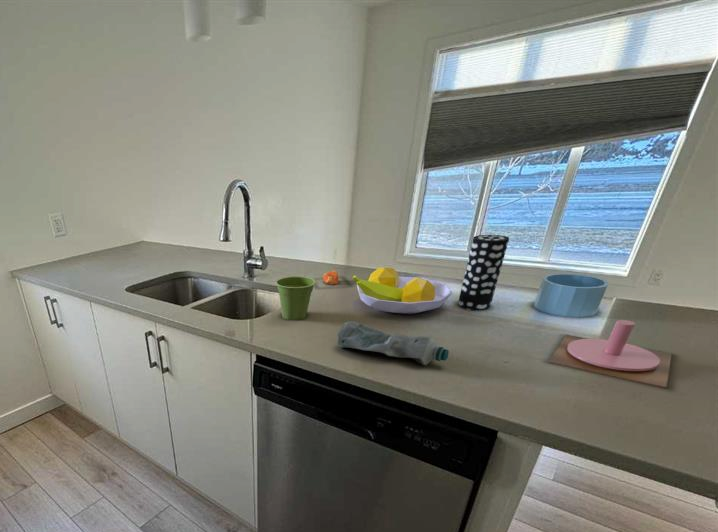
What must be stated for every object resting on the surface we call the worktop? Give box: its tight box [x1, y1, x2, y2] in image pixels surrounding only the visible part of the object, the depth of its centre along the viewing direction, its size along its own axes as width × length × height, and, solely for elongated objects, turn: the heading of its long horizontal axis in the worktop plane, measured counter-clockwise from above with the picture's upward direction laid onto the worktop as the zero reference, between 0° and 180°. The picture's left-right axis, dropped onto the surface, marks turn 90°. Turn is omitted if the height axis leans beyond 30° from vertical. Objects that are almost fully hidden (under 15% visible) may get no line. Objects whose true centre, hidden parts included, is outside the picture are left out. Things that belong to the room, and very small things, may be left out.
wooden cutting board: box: [548, 334, 673, 389], centre depth 88 cm, size 18×18×1 cm
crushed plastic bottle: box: [337, 320, 450, 366], centre depth 97 cm, size 13×7×25 cm
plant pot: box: [275, 275, 317, 321], centre depth 123 cm, size 12×12×11 cm
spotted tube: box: [457, 234, 510, 312], centre depth 116 cm, size 8×8×20 cm
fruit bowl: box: [352, 266, 454, 315], centre depth 123 cm, size 28×27×11 cm
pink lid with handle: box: [567, 319, 660, 371], centre depth 86 cm, size 15×15×8 cm
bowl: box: [533, 273, 610, 318], centre depth 111 cm, size 14×14×8 cm
